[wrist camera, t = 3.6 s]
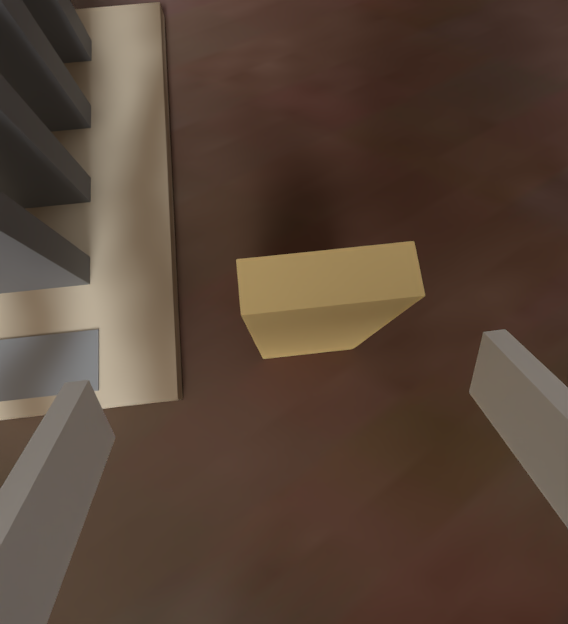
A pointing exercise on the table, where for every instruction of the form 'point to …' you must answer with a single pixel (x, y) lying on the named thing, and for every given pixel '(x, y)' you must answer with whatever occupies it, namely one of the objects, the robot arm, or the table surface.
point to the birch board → (107, 238)
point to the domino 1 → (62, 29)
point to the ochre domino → (326, 296)
